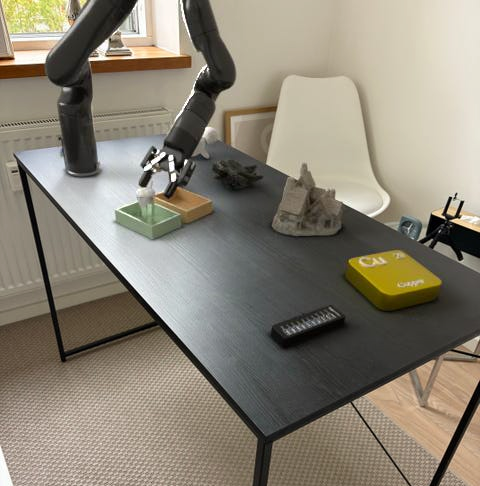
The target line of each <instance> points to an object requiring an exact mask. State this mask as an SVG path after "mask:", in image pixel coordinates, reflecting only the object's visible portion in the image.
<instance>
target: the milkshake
mask: <svg viewBox="0 0 480 486" xmlns="http://www.w3.org/2000/svg"><path fill="white" fill-rule="evenodd" d="M153 185H154V181H153V180H150V187H144V188H142V187H139V188H138V189H137V190H136V191H135V195H136V201H137V202H138V206H139V213H140V220H141V221H144V222H146V223H148V224H150V225H153V224H154V206H155V194H156V190H155V189H153Z"/></svg>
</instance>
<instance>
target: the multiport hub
mask: <svg viewBox="0 0 480 486" xmlns="http://www.w3.org/2000/svg"><path fill="white" fill-rule="evenodd" d="M346 317H347V316H346V314H344V313H343V312H342V311H341V310H339V309H338V308H337V307H335V305H334V304H328V305H325V306H322V307H319V308H317V309H313V310H311V311H308V312H306V313H303V314H299V315H296V316H294V317H291V318H289V319H286V320H282V321H280V322H277V323H274V324H272V325H271V330H270V337H271V338H272V339H273V340H274V341H276V343H278V344H279V346H280V347H281V348H283V349H288V348H289V347H292V346H295V345H297V344H300V343H303V342H305V341H308V340H311V339H313V338H316V337H318V336H321V335H323V334H326V333H329V332H331V331H334V330H337V329H340V328H342V327H344V325H345V322H346V321H345V320H346Z"/></svg>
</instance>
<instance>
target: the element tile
mask: <svg viewBox="0 0 480 486" xmlns="http://www.w3.org/2000/svg"><path fill="white" fill-rule="evenodd" d="M347 261H348V262H347V267H346V271H345V276H344V277H345V279H346V280H347V281H348V282H349V283H350V285H353V286H352V287H354V288H355V289H356V290H357V291H359V293H361V294H362V295H363V296H364V297H365V298H366V299H367V300H368V301H369V302H370V303H371V304H372V305H374V307H376V308H377V309H379V310H380V311H383V312H390V311H395V310H400V309H404V308H409V307H413V306H416V305H420V304H425V303H429V302H432V301H435V300H436V299H437V298H438V295H439V291H440V289H441V286H442V283H443V282H442V280H441V278H439V276H437V275H435V274H434V273H433V272H431V271H430V270H429V269H428V268H426V267H425V266H424V265H422V264H421V263H419V262H418V261H417V260H415V259H414V258H413V257H411V256H410V255H408V254H407V253H406V252H405V251H403V250H400V249H394V250H389V251H383V252H377V253H372V254H367V255H361V256H355V257H351V258H350V259H349V260H347Z"/></svg>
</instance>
